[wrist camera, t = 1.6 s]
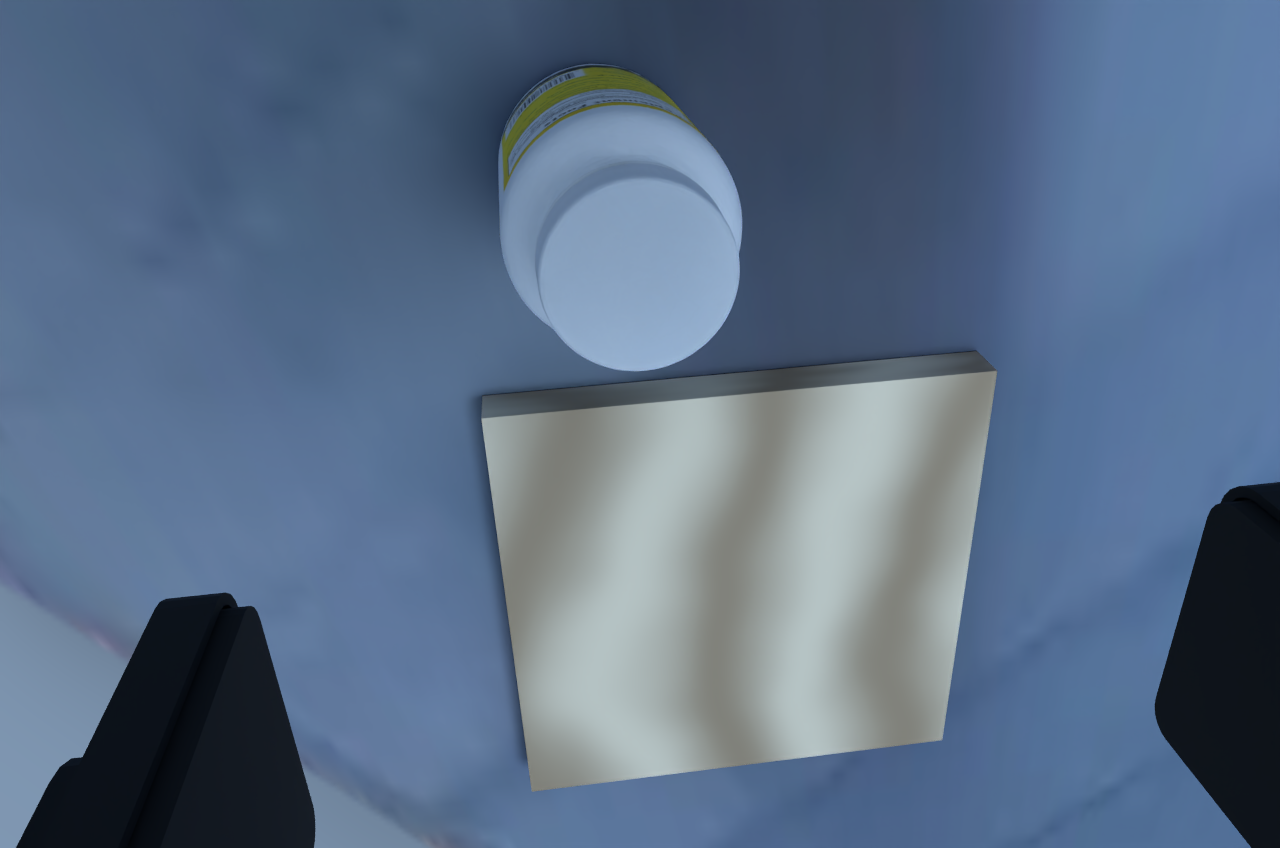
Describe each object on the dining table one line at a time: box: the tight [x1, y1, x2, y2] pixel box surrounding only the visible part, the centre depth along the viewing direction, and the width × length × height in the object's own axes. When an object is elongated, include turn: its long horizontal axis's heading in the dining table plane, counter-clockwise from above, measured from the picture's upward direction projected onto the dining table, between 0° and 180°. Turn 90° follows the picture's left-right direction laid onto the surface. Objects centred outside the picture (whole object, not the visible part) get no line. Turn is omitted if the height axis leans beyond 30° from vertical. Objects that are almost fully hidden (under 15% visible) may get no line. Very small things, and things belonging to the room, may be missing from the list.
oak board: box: [481, 351, 997, 791], centre depth 34 cm, size 16×16×2 cm
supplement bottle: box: [498, 64, 742, 371], centre depth 23 cm, size 5×5×10 cm
